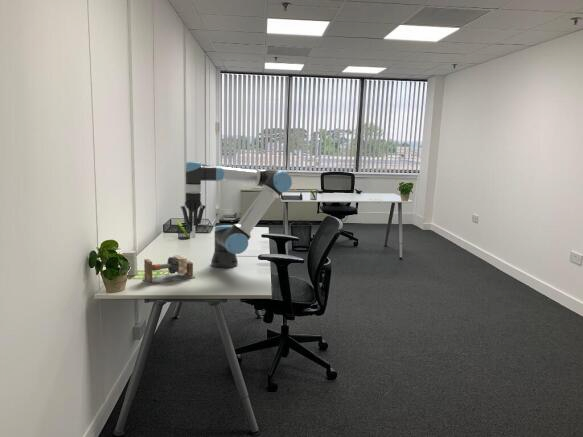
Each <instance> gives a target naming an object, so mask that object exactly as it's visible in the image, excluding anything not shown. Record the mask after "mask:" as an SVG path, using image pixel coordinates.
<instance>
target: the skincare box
mask: <svg viewBox="0 0 583 437" xmlns="http://www.w3.org/2000/svg"><path fill="white" fill-rule="evenodd" d="M122 255H123V256H125V257H126V258H127V260H128V261H129V264H130V267H131V269H130V271H129V272H128V275H127V276H136V275H137V274H138V258H137V250H124V251H123V252H122V253H121V256H122Z"/></svg>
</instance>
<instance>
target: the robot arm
mask: <svg viewBox="0 0 583 437" xmlns="http://www.w3.org/2000/svg"><path fill="white" fill-rule="evenodd" d="M203 181H205V182H207V181H209V182H210V181H212V182H213V181H215V182H218V181H225V182H226V181H227V182H235V183H246V184H253V185H254V186H258V187H262V190H261V191H260V193H259V194H258V196H257V197H256V198H255V200H254V201H253V202H252V203H251V205H250V206H249V208H248V209H247V210H246V212H244V214H243V216H242V217H241V219H240V220H239V221H238V223H233V225H232V224H223V225H216V226H215V227H214V251H213V255H212V257H211V260H210V262H211V263H210V264H211V265H210V266H212V267H214V268H220V269H229V268H234V267H237V266H238V262H239V261H238V257H237V255H239V254H242V253H244V252H245V251H246V250H247V249H248V247H249V240H250V238H252V237H251V236H252V235H251V233H252V231H253V230H254V229H255V227H256V225H257V224H258V223H259V222H260V220H261V219H262V217H263V216H264V215H265V214H266V212H267V211H268V209H269V208H270V206H271V205H272V203H273V202H274V201H275V199H279V198H280V197H281V196H282V195H283V193H286V192H288V191H289V190H290V189H291V187H292V183H293V182H292V177H291V175H290V174H289V173H288V172H287V171H284V170H282V169H281V170H280V169H270V168H269V169H267V168H266V169H259V168H256V169H255V170H253V169H246V168H243V169H242V168H236V167H227V166H226V167H225V166H218V165H211V164H209V165H207V164H204V163H203V164H202V162H200V161H188V162H186V164H185V202H184V204H183V205H181V206H180V209H181V211H182V214H183V219H184V223H185V225H188V231H189V232H190V238H191V239H195V238H196V232H198V225H201V222H202V219H203V215H204V210H205V208H206V205H204V204H202V200H201V196H202V195H201V194H202V193H201V192H202V188H201V187H202V185H201V184H202V183H201V182H203ZM187 210H188V211H187Z"/></svg>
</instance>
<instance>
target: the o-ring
mask: <svg viewBox="0 0 583 437" xmlns="http://www.w3.org/2000/svg"><path fill="white" fill-rule="evenodd" d="M168 263H171V264H172V268H167V269H168V272H169V273H170V275H173V274H176V273H177V272H176V269H177V265H176V260H175V258H174V257H173V256H169V257H168V259H167V263H166V264H168Z"/></svg>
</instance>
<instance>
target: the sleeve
mask: <svg viewBox="0 0 583 437" xmlns="http://www.w3.org/2000/svg"><path fill="white" fill-rule="evenodd" d="M172 257H174V258H175V260H176V262H178V267H177V269H176V272H175V273H176V274H184V273H187V261H188V258H187V257H185V256H184V255H182V254H176V255H173V256H172Z"/></svg>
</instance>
